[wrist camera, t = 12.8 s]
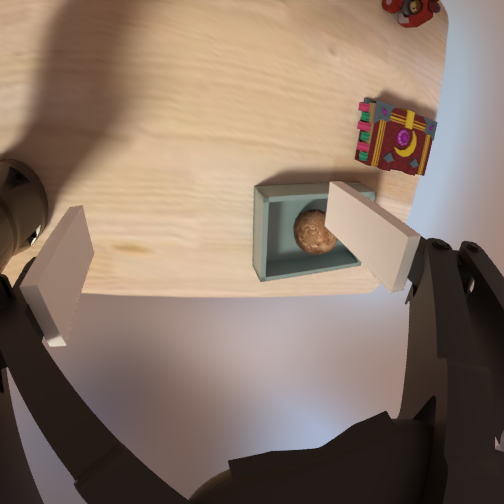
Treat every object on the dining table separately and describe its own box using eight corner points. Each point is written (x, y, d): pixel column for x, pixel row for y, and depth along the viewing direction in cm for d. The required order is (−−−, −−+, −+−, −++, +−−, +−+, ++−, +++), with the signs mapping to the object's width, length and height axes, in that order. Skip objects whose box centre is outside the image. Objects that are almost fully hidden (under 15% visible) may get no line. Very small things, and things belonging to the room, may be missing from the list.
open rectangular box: (252, 265, 53) (260, 282, 49) (254, 186, 45) (263, 197, 41) (347, 252, 57) (360, 265, 53) (359, 182, 50) (375, 191, 46)
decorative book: (410, 170, 52) (426, 178, 48) (346, 159, 47) (362, 167, 43) (421, 117, 46) (439, 122, 42) (357, 96, 42) (375, 98, 37)
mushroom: (351, 219, 48) (346, 239, 44) (325, 247, 54) (318, 269, 49) (312, 191, 48) (304, 209, 44) (289, 223, 54) (279, 242, 49)
